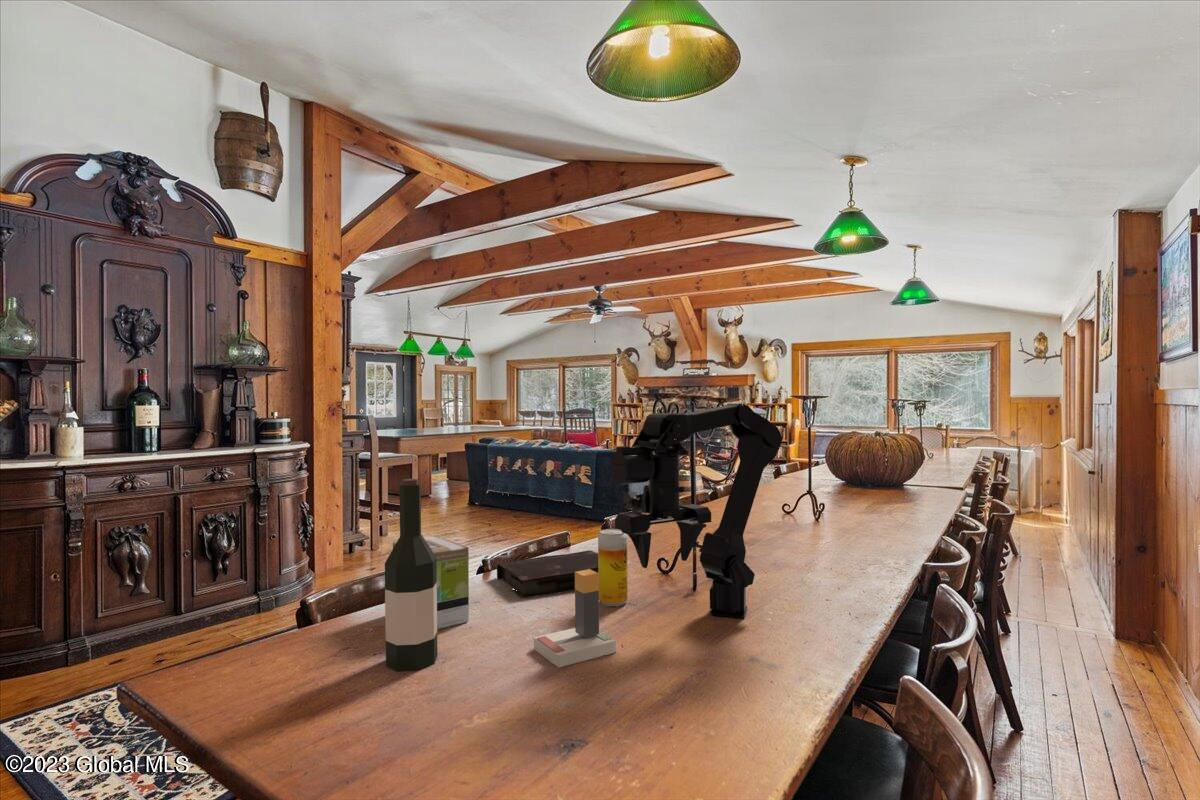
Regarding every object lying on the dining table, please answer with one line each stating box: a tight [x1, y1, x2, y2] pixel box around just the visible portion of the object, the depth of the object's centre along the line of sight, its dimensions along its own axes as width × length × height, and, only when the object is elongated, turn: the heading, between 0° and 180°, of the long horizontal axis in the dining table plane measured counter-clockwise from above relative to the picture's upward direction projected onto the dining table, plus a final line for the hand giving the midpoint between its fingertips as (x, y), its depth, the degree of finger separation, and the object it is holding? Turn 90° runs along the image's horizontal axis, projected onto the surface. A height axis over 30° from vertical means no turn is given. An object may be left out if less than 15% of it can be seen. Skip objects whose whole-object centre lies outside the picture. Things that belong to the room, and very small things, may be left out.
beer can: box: [597, 528, 629, 607], centre depth 135 cm, size 6×6×15 cm
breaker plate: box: [533, 627, 617, 668], centre depth 109 cm, size 11×9×2 cm
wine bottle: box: [384, 478, 438, 672], centre depth 106 cm, size 8×8×30 cm
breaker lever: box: [574, 569, 600, 638], centre depth 111 cm, size 3×3×10 cm
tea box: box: [392, 535, 470, 630], centre depth 127 cm, size 15×10×15 cm, turn 39°
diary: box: [496, 549, 598, 599], centre depth 151 cm, size 19×25×5 cm
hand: (664, 564), depth 120 cm, fingers open, 9 cm apart
